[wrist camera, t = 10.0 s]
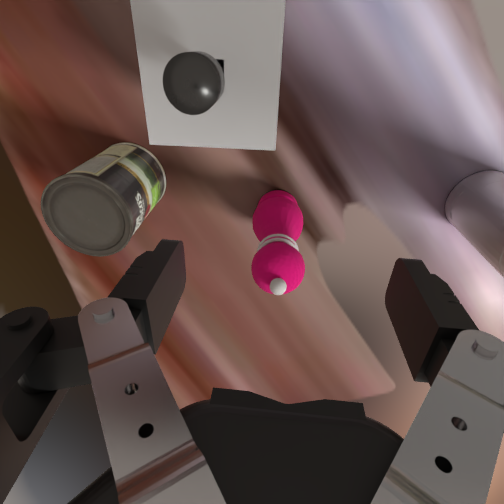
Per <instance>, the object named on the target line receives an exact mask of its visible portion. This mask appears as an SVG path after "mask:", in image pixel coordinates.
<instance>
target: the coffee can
mask: <svg viewBox="0 0 504 504" xmlns="http://www.w3.org/2000/svg"><path fill="white" fill-rule="evenodd" d="M165 189H166V176H165V172H164V170H163V167H162V165H161V164H160V162H159V161H158V159H157V158H156V157H155V156H154V155H153V154H152V153H151V152H150V151H148V150H147V149H145V148H143V147H141V146H139V145H137V144H133V143H118V144H114V145H112V146H110V147H109V148H107V149H106V150H105V151H103V152H101V153H100V154H98V155H96V156H95V157H93V158H91V159H90V160H88V161H86V162H85V163H83V164H81V165H80V166H78V167H76V168H75V169H73V170H71V171H70V172H68V173H66V174H65V175H62V176H60V177H57V178H55V179H54V180H52V181H51V182H50V183H49V184H48V185H47V186H46V188H45V189H44V191H43V194H42V198H41V210H42V214H43V217H44V219H45V222H46V224H47V225H48V227H49V228H50V230H51V231H52V232H53V234H54V235H55V236H56V237H57V238H58V239H59V240H60V241H62V242H63V243H64V244H65V245H67V246H68V247H70V248H72V249H74V250H76V251H78V252H80V253H83V254H87V255H91V256H108V255H112V254H115V253H117V252H119V251H121V250H122V249H123V248H124V247H125V246H126V245H127V244H128V242H129V241H130V239H131V237H132V235H133V234H134V232H135V231H136V230H137V229H138V227H139V226H140V225H141V223H142V222H143V221H144V219H145V218H146V217H147V215H148V214H149V213H150V211H151V210H152V209H153V208H154V206H155V205H156V204H157V202H158V201H159V200H160V199H161V198H162V196H163V195H164V192H165Z"/></svg>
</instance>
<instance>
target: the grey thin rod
mask: <svg viewBox="0 0 504 504" xmlns="http://www.w3.org/2000/svg"><path fill="white" fill-rule="evenodd" d="M224 86H225V78H224V60H223V59H215V58H214V57H212V56H211V55H209V54H208V53H205V52H201V51H193V52H183V53H180V54H177V55H175V56H174V57H173V58H171V59H170V60H169V62H168V63H167V65H166V67H165V69H164V72H163V88H164V92H165V94H166V97H167V99H168V100H169V102H170V103H171V104H172V105H173V106H174V107H175V108H176V109H177V110H179V111H180V112H182V113H185V114H188V115H199V114H202V113H204V112H206V111H208V110H209V109H210V108H211V107H212V106H213V105H214V104H215V103H216V102H217V101H218V100H219V99H220V97H221V96H222V93H223V91H224Z"/></svg>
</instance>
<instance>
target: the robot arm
mask: <svg viewBox="0 0 504 504" xmlns="http://www.w3.org/2000/svg"><path fill="white" fill-rule="evenodd" d="M445 213H446V217H447V219H448V220H449V222H450V223H451V224H452V225H453V226H454V227H455V228H456V229H457V230H458V231H459V232H460V233H461V234H462V235H463V236H464V237H465V238H466V239H467V240H468V241H469V242H470V243H471V245H472V246H473V247H474V248H475V249H476V250H477V251H478V252H479V253H480V254H481V255H482V256H483V257H484V258H485V259H486V260H487V261H488V262H489V263H490V264H491V265H492V266H493V267H494V268H495V269H496V270H497V271H498V272H499V273H500V274H501V275H502V276H503V277H504V173H502V172H499V171H491V170H488V171H481V172H478V173H475V174H473V175H471V176H469V177H467V178H465V179H464V180H462V181H461V182H460V183H458V184H457V185H456V186H455V187H454V189H453V190H452V191H451V193H450V194H449V196H448V198H447V201H446V204H445ZM185 282H186V269H185V258H184V247H183V242H182V241H178V240H165V239H162V240H161V241H160V242H159V244H158V245H157V247H156V248H155V250H154V251H146V252H145V253H143V254H142V255H140V256H138V257H137V258H136V259H135V261H134V262H133V263H132V265H131V266H130V268H129V269H128V270H127V271H126V273H125V275H124V276H123V277H122V278H121V280H120V281H119V282H118V284H117V285H116V286H115V288H114V289H113V291H112V292H111V293H110V295H109V296H108V297H107V298H102V299H99V300H96V301H93V302H91V303H90V304H88V305H86V306H85V307H84V308H83V309H82V310H81V311H80V313H79V315H78V316H72V317H65V318H58V319H50V317H49V315H48V312H47V311H46V310H45V309H43V308H40V307H26V308H21V309H18V310H15V311H12V312H10V313H8V314H6V315H5V316H3V317H2V318H0V504H3V502H4V500H5V499H6V497H7V495H8V493H9V491H10V490H11V488H12V487H13V485H14V483H15V481H16V480H17V478H18V476H19V474H20V473H21V471H22V469H23V468H24V466H25V464H26V462H27V461H28V459H29V457H30V455H31V454H32V452H33V450H34V448H35V447H36V445H37V443H38V441H39V440H40V438H41V436H42V435H43V433H44V431H45V429H46V428H47V426H48V424H49V422H50V421H51V419H52V417H53V416H54V414H55V412H56V410H57V409H58V407H59V405H60V403H61V402H62V400H63V398H64V396H65V395H66V393H67V391H68V390H69V388H70V387H75V386H81V385H86V384H92V387H93V391H94V395H95V400H96V404H97V408H98V412H99V416H100V420H101V424H102V429H103V433H104V437H105V441H106V445H107V450H108V454H109V458H110V462H111V467H110V468H109V469H107V470H106V471H105V472H104V473H103V474H101V475H100V476H99V477H98V478H97V479H96V480H95V481H93V482H92V483H91V484H90V485H89V486H87V487H86V488H85V489H84V490H83V491H82V492H80V493H79V494H78V495H77V496H76V497H75V498H73V499H72V500H71V501H70V502H69V503H68V504H485V503H486V499H487V496H488V492H489V488H490V484H491V480H492V476H493V472H494V468H495V464H496V460H497V456H498V453H499V449H500V445H501V441H502V437H503V433H504V342H503V341H501V340H500V339H498V338H497V337H495V336H493V335H491V334H488V333H486V332H483V331H479V329H478V328H477V326H476V325H475V323H474V322H473V320H472V319H471V318H470V316H469V315H468V313H467V312H466V310H465V309H464V307H463V306H462V304H460V302H459V300H458V299H457V297H456V296H454V293H453V291H452V290H451V288H450V287H449V286H448V284H447V283H446V282H444V281H443V280H442V279H441V278H439V277H438V276H437V275H435V274H430V272H429V271H428V269H427V268H426V266H425V265H424V263H423V262H422V260H418V259H404V258H399V259H397V260H396V262H395V265H394V268H393V271H392V275H391V278H390V281H389V284H388V287H387V290H386V295H385V305H386V309H387V311H388V314H389V317H390V319H391V322H392V324H393V327H394V329H395V332H396V335H397V337H398V340H399V343H400V345H401V348H402V350H403V353H404V356H405V358H406V361H407V364H408V366H409V369H410V371H411V374H412V376H413V379H414V381H418V382H428V383H429V384H430V386H431V388H430V390H429V392H428V394H427V396H426V398H425V400H424V402H423V404H422V406H421V408H420V410H419V411H418V413H417V415H416V417H415V419H414V421H413V423H412V425H411V427H410V429H409V431H408V433H407V435H406V436H405V438H404V439H403V438H402V437H401V436H399V435H398V434H397V433H395V432H394V431H393V430H391V429H390V428H389V427H387V426H385V425H383V424H382V423H380V422H378V421H376V420H374V419H372V418H369V417H366V416H365V412H364V407H363V403H356V402H347V401H337V400H327V399H324V400H316V401H309V402H302V403H295V404H284V403H281V402H278V401H275V400H272V399H270V398H267V397H264V396H261V395H258V394H255V393H253V392H250V391H241V390H232V389H222V388H213V391H212V395H211V399H209V400H203V401H200V402H196V403H193V404H191V405H188V406H186V407H184V408H182V409H180V410H179V408H178V406H177V404H176V401H175V399H174V397H173V395H172V393H171V390H170V388H169V386H168V384H167V382H166V380H165V377H164V375H163V373H162V371H161V369H160V367H159V364H158V362H157V360H156V358H155V356H154V354H155V355H156V352H157V350H158V348H159V346H160V343H161V341H162V339H163V336H164V334H165V332H166V330H167V327H168V325H169V323H170V320H171V318H172V316H173V313H174V311H175V309H176V307H177V304H178V302H179V300H180V297H181V295H182V293H183V291H184V288H185Z"/></svg>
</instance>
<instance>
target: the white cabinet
mask: <svg viewBox="0 0 504 504" xmlns="http://www.w3.org/2000/svg"><path fill="white" fill-rule="evenodd" d="M285 1H286V0H130V3H131V11H132V18H133V25H134V33H135V40H136V47H137V55H138V62H139V69H140V77H141V84H142V92H143V99H144V106H145V114H146V121H147V128H148V136H149V143H150V145H169V146H191V147H212V148H233V149H254V150H275V149H276V134H277V119H278V104H279V90H280V75H281V60H282V45H283V30H284V15H285ZM193 51H201V52H205V53H208V54H209V55H211V56H212V57H214V58H215V59H223V60H224V78H225V86H224V91H223V93H222V96H221V97H220V99H219V100H218V101H217V102H216V103H215V104H214V105H213V106H212V107H211V108H210V109H209V110H208V111H206V112H204V113H202V114H199V115H188V114H185V113H182V112H180V111H179V110H177V109H176V108H175V107H174V106H173V105H172V104H171V103H170V102H169V100H168V99H167V97H166V94H165V92H164V88H163V72H164V69H165V67H166V65H167V63H168V62H169V60H170V59H171V58H173V57H174V56H175V55H177V54H180V53H183V52H193Z"/></svg>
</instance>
